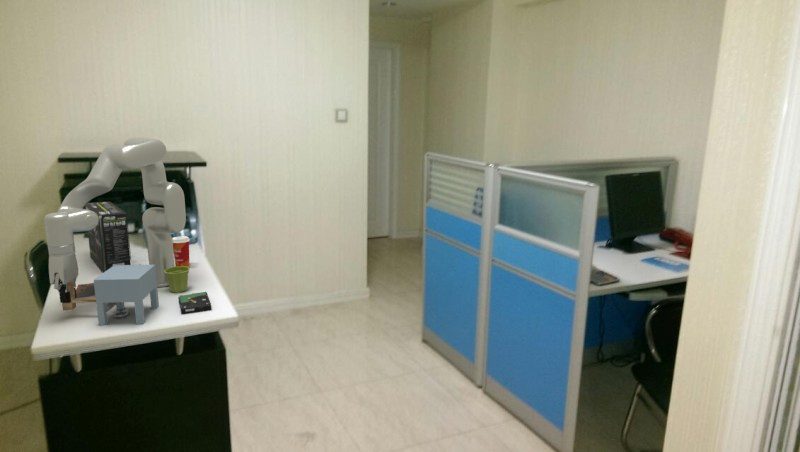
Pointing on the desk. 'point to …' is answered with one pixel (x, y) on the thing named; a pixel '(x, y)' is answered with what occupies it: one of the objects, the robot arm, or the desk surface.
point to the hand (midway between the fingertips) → (68, 300)
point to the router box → (109, 236)
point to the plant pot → (177, 278)
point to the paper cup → (181, 250)
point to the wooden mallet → (80, 299)
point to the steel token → (121, 313)
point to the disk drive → (194, 303)
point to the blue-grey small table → (126, 289)
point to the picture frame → (85, 291)
